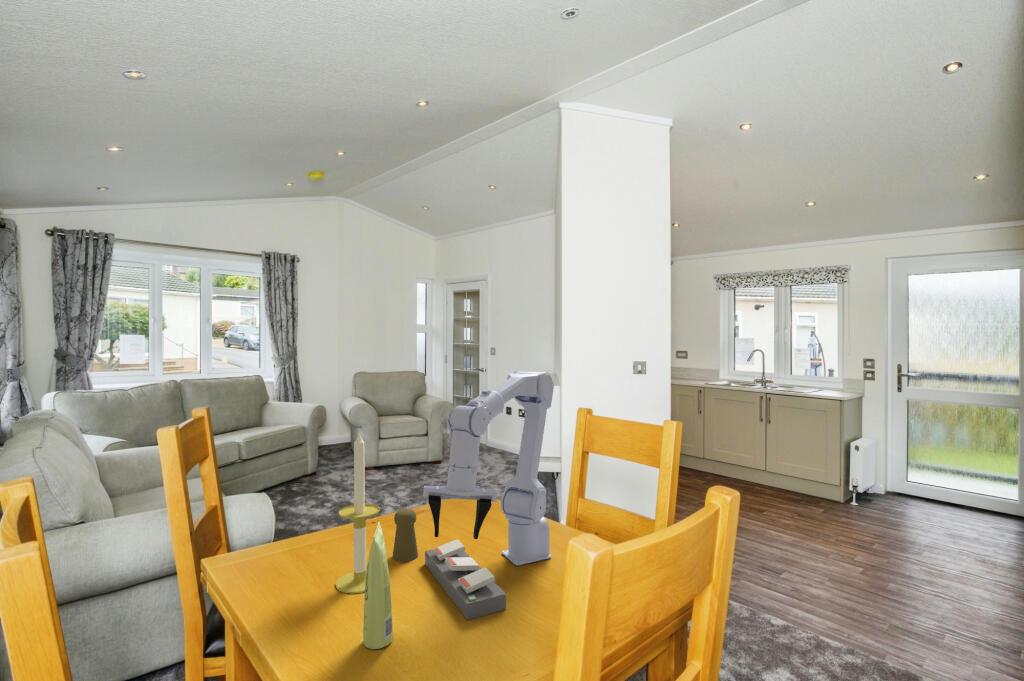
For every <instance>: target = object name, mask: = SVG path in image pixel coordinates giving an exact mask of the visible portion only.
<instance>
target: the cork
mask: <svg viewBox="0 0 1024 681" xmlns="http://www.w3.org/2000/svg"><path fill="white" fill-rule="evenodd" d="M393 519H394V524H395V525H396V529H395V534H394V542H393V551H392V560H393V561H395V562H398V563H407V562H408V563H409V562H411V561H415V560H416V559H418V557H419V551H418V545H417V543H418V542H417V537H416V536H417V535H416V530H415V523H416V521H417V514H416V511H415V510H413V509H411V508H404V509H402V508H401V509H399V510H397V511H396V512H395V514H394V517H393Z"/></svg>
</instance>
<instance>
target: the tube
mask: <svg viewBox="0 0 1024 681" xmlns="http://www.w3.org/2000/svg"><path fill="white" fill-rule="evenodd" d="M388 564H389V563H388V557H387V550H386V542H385V538H384V533H383V529H382V526H381V523H380V521H378V523H377V526H376V530H375V532H374V535H373V538H372V541H371V544H370V548H369V552H368V559H367V563H366V570H367V572H366V582H365V592H364V600H363V601H364V602H363V636H362V638H363V645H364V646H365V647H366V648H368V649H370V650H378V649H382V648H384V647H387V646H388V645H390V644H391V643H392V641H393V640H394V638H393V636H394V634H393V633H394V632H393V611H392V610H393V609H392V608H393V607H392V606H393V604H392V595H391V594H392V593H391V582H390V570H389V565H388Z"/></svg>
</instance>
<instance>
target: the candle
mask: <svg viewBox="0 0 1024 681" xmlns="http://www.w3.org/2000/svg"><path fill="white" fill-rule="evenodd" d="M353 467H354V468H353V481H354V482H353V485H354V486H353V487H354V488H353V494H354V496H353V498H354V502H353V504H352V505H351V504H350V505H349V506H345V507H342V508H341V509H340V510H339V511H338V515H339V517H340V518H342V519H347V520H353V571H351V572H348V573H345V574H343V575H342V576H341V577H339V578H338V579H337V580H336V582H335V584H334V585H336V586H335V588H337V589H336V590H337V591H338V590H339V592H340V591H341V592H340V593H342V592H343V594H348V593H349V594H350V595H351V594H352V595H354V594H355V593H356V595H357V593H358V594H363V593H364V594H365V582H366V572H367V542H366V541H367V527H366V526H367V525H366V524H367V522H366V521H367V519H369V518H370V517H373V516H376V515H378V514H379V512H380V510H381V507H380V506H379V505H376V504H374V503H373V504H372V503H366V502H365V501H366V499H365V498H366V497H365V496H366V495H365V494H366V492H365V488H366V487H365V484H366V483H365V478H366V476H365V475H366V474H365V472H366V471H365V469H366V468H365V441H364V440H363V438H362V436H361V433H360V432H358V433H357V437H356V439H355V440H354V442H353Z"/></svg>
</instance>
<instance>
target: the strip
mask: <svg viewBox="0 0 1024 681" xmlns="http://www.w3.org/2000/svg"><path fill="white" fill-rule="evenodd" d="M433 549H434V548H431V549H429V550H424V564H425V565H426V567H427V568H428V570H429V571H430V572H431V574H432V575H433V576H434V578H435V579H436V580H437V582H438V583H439V585H440V586H441V587H442V588H443V590H444V591H445V592H446V595H448V596H449V598H450V599H451V600H452V602H453V603H454V604H455V606H456V608H458V610H459V611H460V613H461V614H462V616H464V618H465V619H466V620H467V621H468V620H473V619H476V618H480V617H484V616H486V615H491V614H494V613H497V612H501V611H505V610H506V611H507V594H506V592H505V591H504V590H503V589H502V588H501V587H500V586H499V585H498V584H497V583H496V582H495V581H494V582H492V583H490V584H488V585H485V586H483V587H481V588H479V589H477V590H474V591H472V592H470V593H468V594H467V593H466V592H465V590H464V589H463V588H462V587H461V586H460V584H459V581H458V579H459V578H462V577H464V576H466V575H468V574H471V573H473V572H475V571H477V570H465V571H452V570H451V569H450V568H449V567H448V566H447V564H446V563H445V559H443V560H441V561H440V560H439V559H438V558H437V556H436V555H435V554H434V552H433ZM450 557H471V556H470V555H469V554H467V552H466V551H462V552H460V553H457V554H455V555H453V556H450ZM480 569H482V567H480V566H479V569H478V570H480Z"/></svg>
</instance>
